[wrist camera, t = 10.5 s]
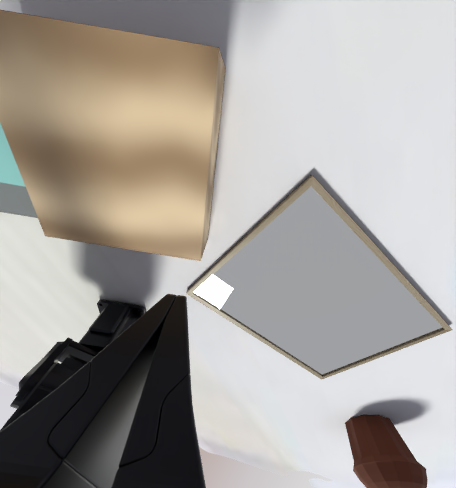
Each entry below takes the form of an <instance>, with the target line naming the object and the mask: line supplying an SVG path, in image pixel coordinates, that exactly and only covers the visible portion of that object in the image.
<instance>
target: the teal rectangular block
mask: <svg viewBox="0 0 456 488" xmlns="http://www.w3.org/2000/svg"><path fill="white" fill-rule="evenodd" d="M0 182H1V183H7V184H13V185H18V186H24V187H26V186H25V184H24V181H23V179H22V176H21V174H20V171H19V169H18V166H17V164H16V161H15V159H14V156H13V154H12V151H11V149H10V146H9V143H8V141H7V138H6V136H5V133H4V131H3V128H2V126H1V123H0Z"/></svg>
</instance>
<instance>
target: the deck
mask: <svg viewBox="0 0 456 488" xmlns="http://www.w3.org/2000/svg"><path fill="white" fill-rule="evenodd" d="M224 78H225V66H224V62H223V59H222V56H221V53H220V49H219V48H218V47H212V46H207V45H201V44H195V43H189V42H183V41H178V40H172V39H166V38H160V37H155V36H149V35H143V34H137V33H132V32H126V31H120V30H114V29H108V28H103V27H97V26H91V25H85V24H80V23H74V22H68V21H62V20H56V19H51V18H45V17H39V16H33V15H28V14H22V13H16V12H10V11H4V10H0V123H1V126H2V128H3V131H4V133H5V136H6V138H7V141H8V143H9V146H10V149H11V151H12V154H13V156H14V159H15V161H16V164H17V166H18V169H19V171H20V174H21V176H22V179H23V181H24V184H25V186H26V189H27V191H28V194H29V196H30V199H31V201H32V204H33V206H34V209H35V211H36V214H37V216H38V219H39V222H40V224H41V227H42V229H43V232H44V234H45V236H48V237H54V238H60V239H67V240H73V241H79V242H85V243H91V244H98V245H104V246H110V247H116V248H123V249H129V250H135V251H141V252H147V253H154V254H160V255H166V256H172V257H178V258H185V259H191V260H197V261H201V258H202V255H203V252H204V249H205V246H206V243H207V240H208V232H209V223H210V213H211V203H212V194H213V184H214V174H215V165H216V155H217V145H218V136H219V126H220V116H221V107H222V97H223V87H224Z"/></svg>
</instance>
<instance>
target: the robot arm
mask: <svg viewBox="0 0 456 488" xmlns="http://www.w3.org/2000/svg"><path fill="white" fill-rule="evenodd" d="M97 305H98V309H99V312H100V315H99V316H98V318H97V319H96V320H95V321H94V323H93V324H92V325H91V327H90V328H89V330H88V331H87V333H86V334H85V335H84V337H83V338H82V339H81V340H80V342H79V343H77V342H75V341H73V339H70V338H67V339H66V340H65V341H64V342H57V343H56V345H55V346H54V347H53V348H52V349H51V350H50V351H49V352H48V354H47V355H46V356H45V357H44V358H43V359H42V360H41V361H40V362H39V363H38V364H37V365H36V366H35V367H33V368H32V369H31V370H30V371H29V372H28V373H27V374H26V375H25V376H24V377H23V378H22V380H21V381H20V382H19V392H18V393H17V394H16V396H17V397H16V398H15V400H14V401H13V402H12V404H11V407H14V408H17V410H16V411H15V412H14V414H13V415H12V416H11V418H10V419H9V420H8V421H7V422H6V424H5V425H4V426H3V428H2V429H1V430H0V488H206V486H205V480H204V474H203V468H202V463H201V457H200V450H199V445H198V439H197V433H196V427H195V420H194V413H193V406H192V394H191V378H190V360H189V339H188V318H187V298H186V296H180V295H178V296H176V295H173V294H167V295H166V296H164V297H163V298H162V299H161V300H160V301H159V302H157V303H156V304H155V305H154V306H153V307H152V308H150V309H149V310H148V311H147V312H146V313H145V308H144V307H142V306H137V305H130V304H124V303H118V302H111V301H105V300H99V302H98V303H97ZM58 361H60V362H62V363H61V364H60V363H57V362H58Z"/></svg>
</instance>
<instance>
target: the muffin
mask: <svg viewBox="0 0 456 488" xmlns="http://www.w3.org/2000/svg"><path fill="white" fill-rule="evenodd" d="M345 424H346V429H347V433H348V437H349V442H350V446H351V450H352V455H353V459H354V469H353V471H354V472H355V474H356V475H357V477H358V478H359V480H360V481H361V482H362V483H363V484H364V485H365V487H366V488H426V487H427V475H426V469H425V468H424V467H423V466H422V465H421V464H420V463H418V462H417V461H416V459H415V458H414V456H413V455H412V453H411V451H410V450H409V448H408V447H407V445H406V444H405V442H404V441H403V439H402V437H401V436H400V434H399V433H398V431H397V430H396V428H395V427H394V425H393V424H392V422H391V420H390V419H389V418H385V417H382V416H380V415H361V416H358V417H353V418H350V419H349V421H347V422H346V423H345Z"/></svg>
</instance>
